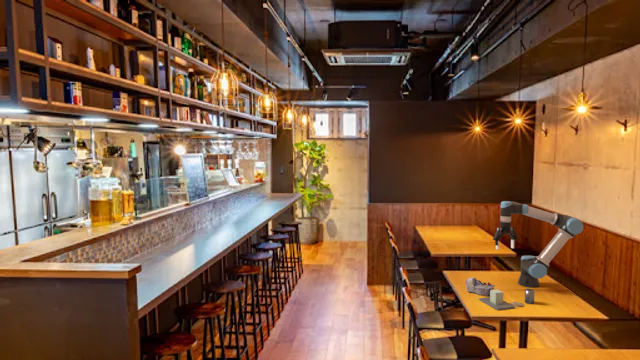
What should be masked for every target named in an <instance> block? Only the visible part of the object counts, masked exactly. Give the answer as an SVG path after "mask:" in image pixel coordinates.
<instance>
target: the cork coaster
mask: <svg viewBox="0 0 640 360" xmlns="http://www.w3.org/2000/svg"><path fill="white" fill-rule="evenodd" d="M510 304H511V305H513V306H515V308H516V307H517V308H522V307H524V306H525V305H524V303H522V302H520V301H511V302H510Z"/></svg>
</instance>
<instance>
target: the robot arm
mask: <svg viewBox="0 0 640 360" xmlns="http://www.w3.org/2000/svg"><path fill="white" fill-rule="evenodd" d="M512 215H523V216H527V217H530V218H534V219H537V220H540V221H544V222H546V223H550V224H551V225H552V226H555V227H558V228H557V230H558V231H557V232H556V234H555V235H554V236H553V238H552V239H550V241H549V242H548V244H547V245H546V246H545V247H544V249H543V250H542V251H541V252H540V253H539V255H538V256H537V255H536V256H535V255H521V257H520V275H519V277H518V279H517V284H518V285H520V286H523V287H526V288H538V287H540V281H539V279H542V278H544V277H545V276H546V275H547V273H548V269H549V267H550V262H551V261H552V260H553V259H554V257H556V255H557V254H559V251H561V249H562V248H563V247H564V245H565V244H566V243H567V242H568V241H569V239H573V238H574V237H575V236H576V235H578V234H581V233H582V232H583V231H584V224H583V222H582V220H580V219H578V218H577V217H575V216H571V215H567V214H561V213H556V212H554V213H553V212H549V211H545V210H543V209H539V208H536V207H532V206H529V205H528V204H526V203H525V204H524V203H519V202H516V201H508V200H503V201H501V202H500V216H499V217H500V218H499V219H500V223H499V225H500V226H499V227H500V228H499V227H497V228H496V231H495V234H494V235H493V238H492V241H495V242H494V245H495V250H500V239H501V237H502V236H503V235H505V234H507V235H508V236H509V237H510V238H511V239H510V248H511V249H515V245H516V244H515V243H516V241H517V240H518V236H517V233H516V231H515V228H514V227H513V226H512Z"/></svg>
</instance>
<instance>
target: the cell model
mask: <svg viewBox="0 0 640 360" xmlns="http://www.w3.org/2000/svg"><path fill="white" fill-rule="evenodd" d="M495 286H496V285H495V284H491V283H490V282H482V281H481V280H480V279H477V278H476V277H474V276H473V277H468V278H466V280H465V289H466V292H469V293H473V294H476V295H480V296H487V297H488V296H490V290H495Z"/></svg>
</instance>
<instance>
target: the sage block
mask: <svg viewBox="0 0 640 360" xmlns="http://www.w3.org/2000/svg"><path fill="white" fill-rule="evenodd" d="M489 297H490V302H492V303H494V304H502V303H503V301H504V291H502V290H499V289H493V290H490V295H489Z"/></svg>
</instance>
